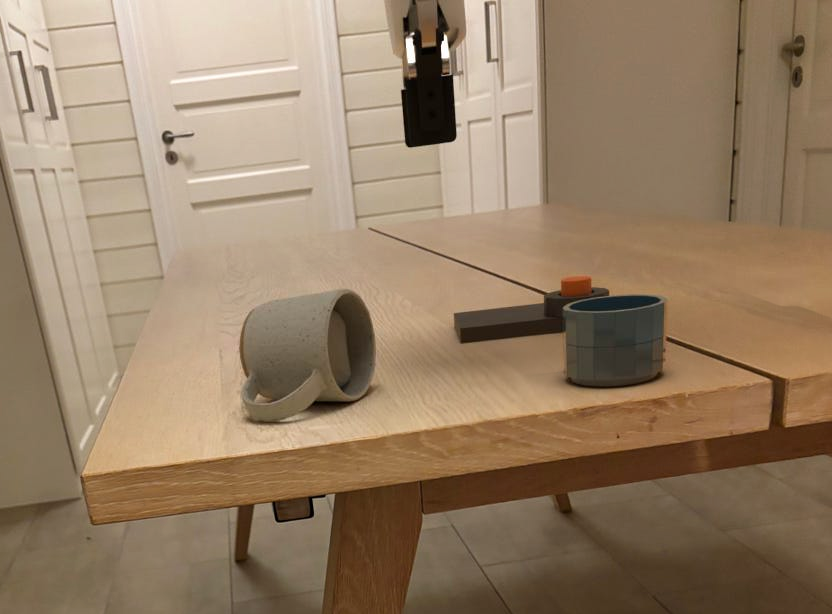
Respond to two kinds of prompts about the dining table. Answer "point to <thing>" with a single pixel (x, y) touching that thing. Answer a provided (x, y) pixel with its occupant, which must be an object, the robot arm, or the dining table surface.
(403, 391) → the dining table surface
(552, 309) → the dark piece
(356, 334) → the ceramic mug
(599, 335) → the bowl
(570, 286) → the button
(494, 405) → the dining table surface
